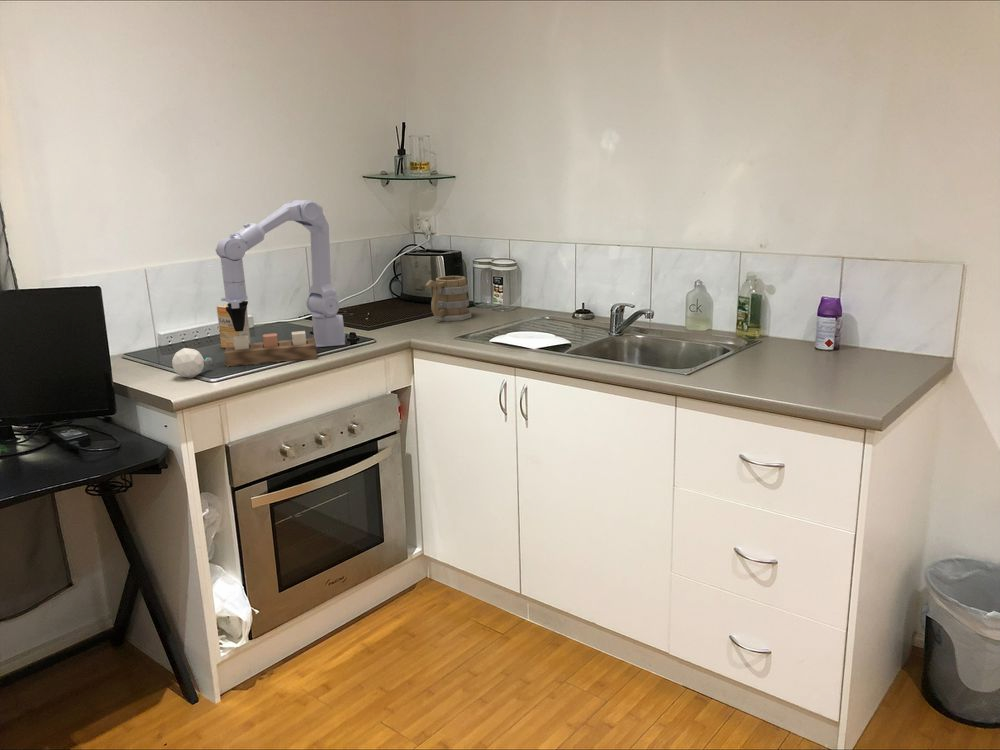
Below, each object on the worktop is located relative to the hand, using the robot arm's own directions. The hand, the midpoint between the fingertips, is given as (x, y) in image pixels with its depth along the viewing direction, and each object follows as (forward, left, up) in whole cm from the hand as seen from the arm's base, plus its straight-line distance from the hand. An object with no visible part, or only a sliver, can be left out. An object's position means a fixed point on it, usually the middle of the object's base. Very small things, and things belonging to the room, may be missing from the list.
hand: (239, 329), depth 230 cm
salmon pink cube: (-8, 0, -6) cm, 10 cm away
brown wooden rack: (-8, 0, -9) cm, 12 cm away
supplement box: (+3, -19, -10) cm, 21 cm away
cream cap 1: (0, 0, -6) cm, 6 cm away
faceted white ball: (+12, +11, -10) cm, 19 cm away
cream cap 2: (-16, 0, -6) cm, 17 cm away
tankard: (-66, -36, -10) cm, 76 cm away
